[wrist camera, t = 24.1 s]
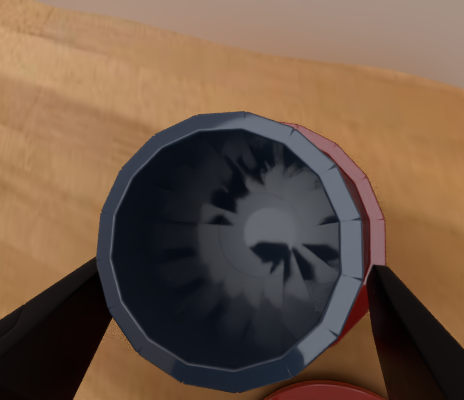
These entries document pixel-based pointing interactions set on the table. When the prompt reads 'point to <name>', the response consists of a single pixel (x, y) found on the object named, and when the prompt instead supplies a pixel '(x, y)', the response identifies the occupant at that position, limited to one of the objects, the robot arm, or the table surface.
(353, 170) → the dutch oven
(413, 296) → the robot arm
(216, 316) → the crock
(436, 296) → the table surface
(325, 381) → the lid
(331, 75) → the table surface
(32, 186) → the table surface
